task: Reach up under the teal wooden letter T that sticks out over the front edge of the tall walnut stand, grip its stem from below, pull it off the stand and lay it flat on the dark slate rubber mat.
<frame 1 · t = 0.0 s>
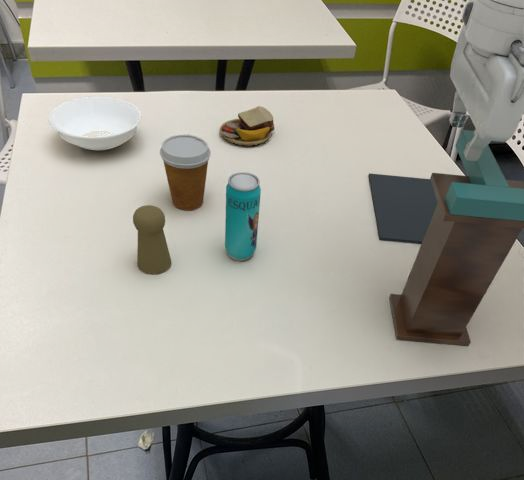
hand: (462, 141, 68), 27 cm above the table, tool pointing down, fingers open, 8 cm apart
disposable coffee cup: (187, 202, 101), on the table
letter T: (478, 178, 68), point 24 cm above the table, touching stand
stand: (427, 321, 84), on the table
beverage can: (240, 254, 92), on the table
toy sandwich meal: (246, 135, 121), on the table
olive pawn: (154, 264, 88), on the table
bowl: (100, 144, 113), on the table
mat: (410, 208, 105), on the table
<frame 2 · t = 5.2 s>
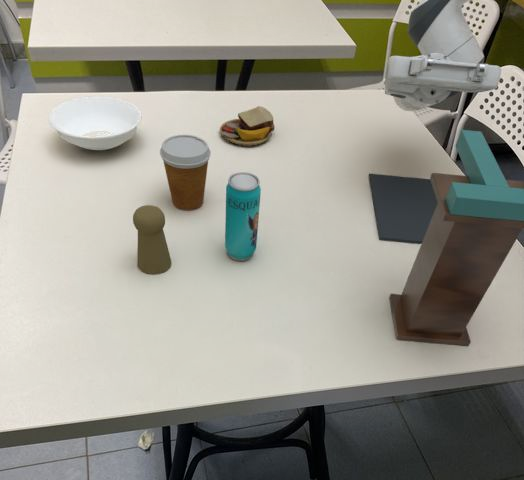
hand: (456, 66, 83), 28 cm above the table, tool pointing upward, fingers open, 8 cm apart
nothing on the table moved.
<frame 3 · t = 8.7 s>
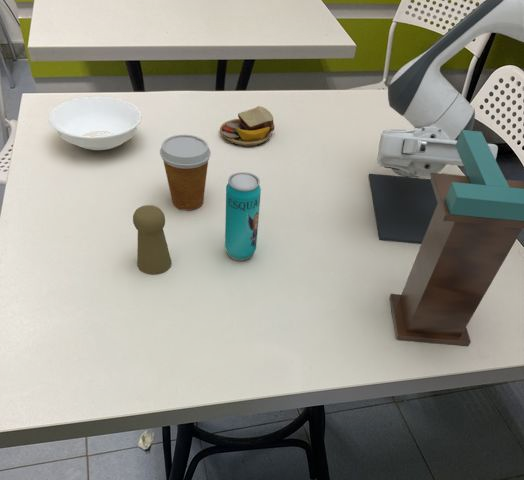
hand: (450, 149, 80), 21 cm above the table, tool pointing upward, fingers open, 8 cm apart
nothing on the table moved.
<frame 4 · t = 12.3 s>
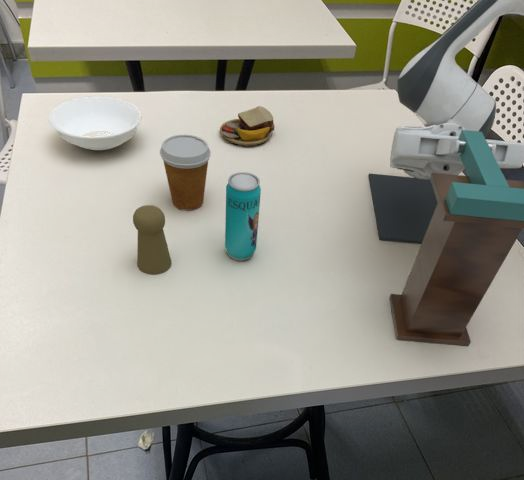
hand: (475, 148, 70), 26 cm above the table, tool pointing upward, fingers closed on letter T, 3 cm apart
letter T: (479, 178, 68), point 24 cm above the table, touching gripper, stand
everything else where it was.
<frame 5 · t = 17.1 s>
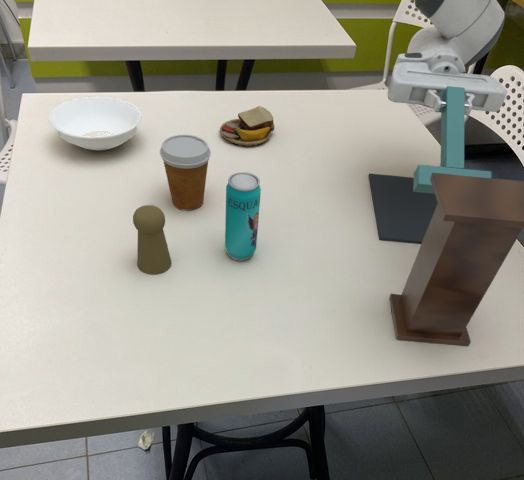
hand: (453, 109, 83), 24 cm above the table, tool horizontal, fingers closed on letter T, 3 cm apart
letter T: (449, 143, 83), point 20 cm above the table, tilted 30°, touching gripper
everything else where it was.
when the fingers open (5 cm above the table, at t = 22.7 s): letter T drops 2 cm, resting on mat.
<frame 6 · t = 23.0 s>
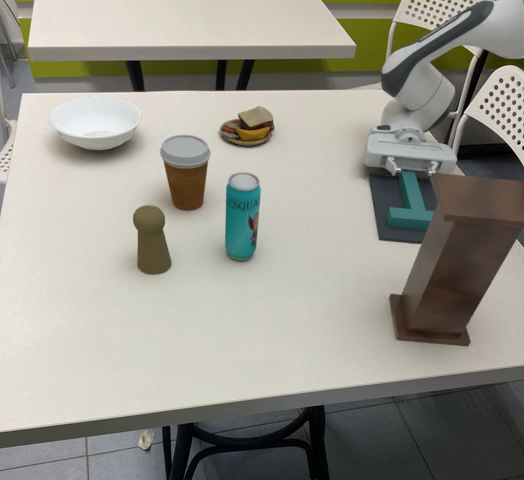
hand: (413, 174, 105), 5 cm above the table, tool horizontal, fingers open, 6 cm apart
letter T: (410, 203, 106), point 1 cm above the table, touching mat
everything else where it was.
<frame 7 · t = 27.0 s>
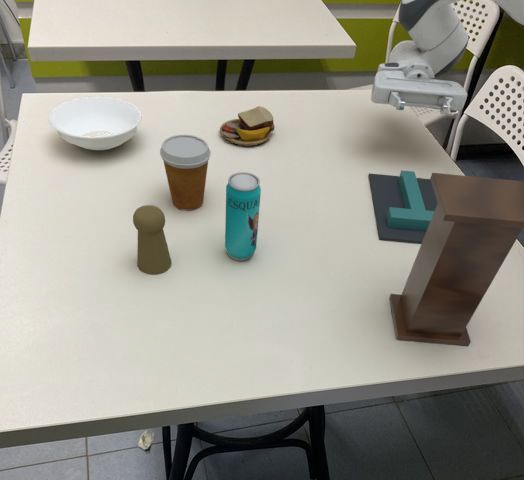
hand: (423, 108, 102), 15 cm above the table, tool horizontal, fingers open, 8 cm apart
nothing on the table moved.
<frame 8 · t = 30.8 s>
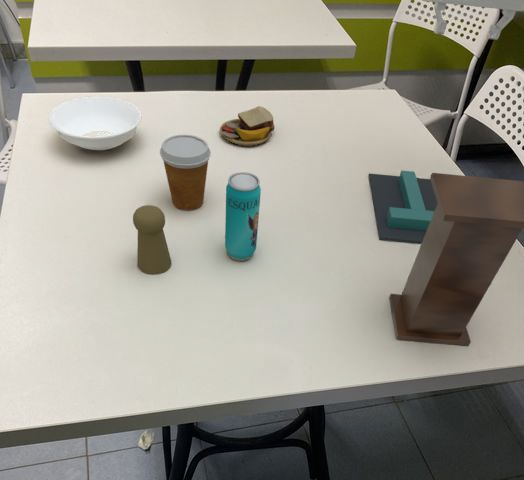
hand: (465, 35, 86), 31 cm above the table, tool pointing down, fingers open, 8 cm apart
nothing on the table moved.
at the end: letter T inside the target area on the mat (1.1 cm from its centre), point 0.6 cm above the mat's base; letter T tilted 0°; the gripper is holding nothing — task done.
